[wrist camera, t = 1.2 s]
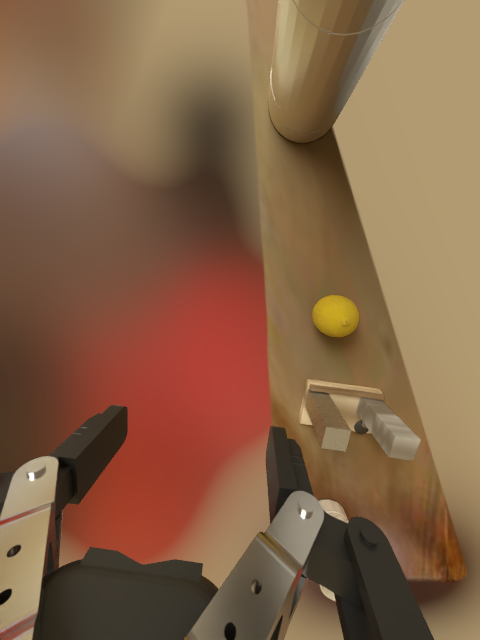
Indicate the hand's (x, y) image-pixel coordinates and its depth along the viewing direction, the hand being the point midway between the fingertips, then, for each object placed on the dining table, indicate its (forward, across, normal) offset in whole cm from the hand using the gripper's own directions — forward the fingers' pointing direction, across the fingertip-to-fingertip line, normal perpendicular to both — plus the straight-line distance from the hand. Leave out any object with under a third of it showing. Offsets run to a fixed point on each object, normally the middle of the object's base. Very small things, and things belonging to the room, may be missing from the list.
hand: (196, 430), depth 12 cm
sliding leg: (+23, -15, +10) cm, 29 cm away
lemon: (+24, -14, -4) cm, 28 cm away
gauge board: (+24, -19, +11) cm, 32 cm away
